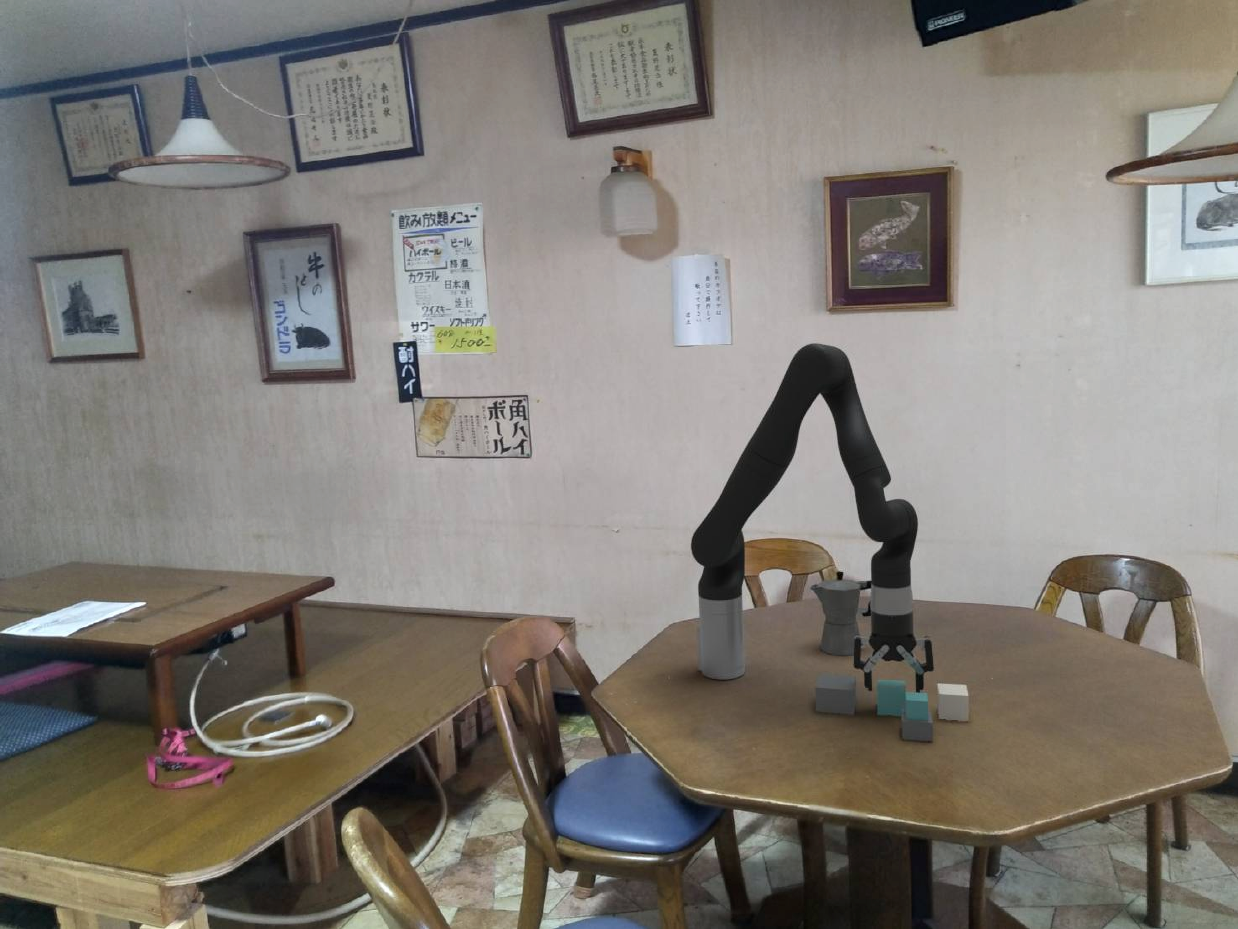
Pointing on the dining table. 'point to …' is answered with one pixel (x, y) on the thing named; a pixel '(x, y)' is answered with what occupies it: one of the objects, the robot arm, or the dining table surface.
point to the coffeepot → (840, 613)
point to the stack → (917, 718)
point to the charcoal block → (836, 693)
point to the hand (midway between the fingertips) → (893, 690)
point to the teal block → (891, 697)
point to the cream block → (953, 702)
